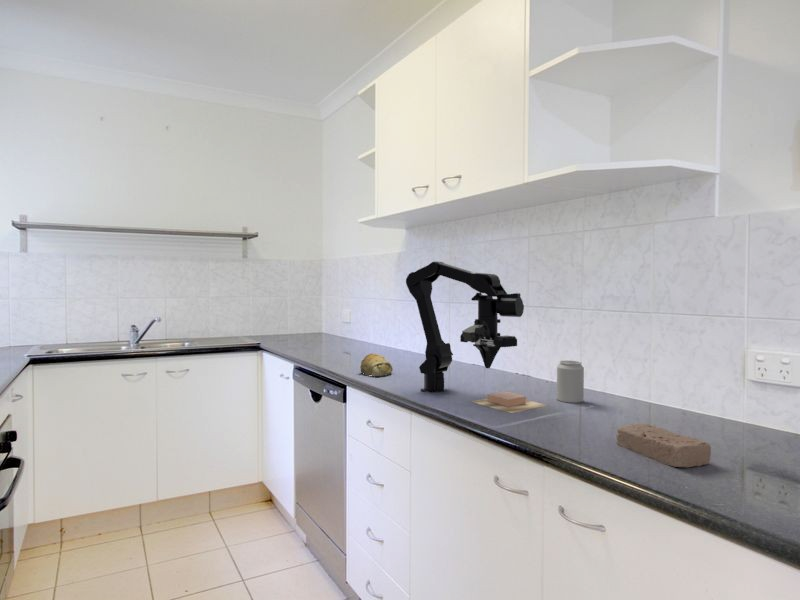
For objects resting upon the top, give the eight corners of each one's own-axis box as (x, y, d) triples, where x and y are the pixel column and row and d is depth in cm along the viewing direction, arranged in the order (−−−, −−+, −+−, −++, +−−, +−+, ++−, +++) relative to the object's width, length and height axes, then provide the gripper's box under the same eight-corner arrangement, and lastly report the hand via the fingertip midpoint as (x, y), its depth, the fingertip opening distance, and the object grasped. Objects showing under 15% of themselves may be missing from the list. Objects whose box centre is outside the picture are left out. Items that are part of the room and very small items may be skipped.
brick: (613, 445, 108) (614, 423, 108) (644, 441, 111) (644, 420, 111) (679, 472, 93) (679, 447, 92) (712, 467, 95) (713, 442, 95)
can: (585, 405, 142) (586, 363, 142) (558, 404, 144) (558, 362, 143) (581, 399, 150) (581, 359, 149) (555, 398, 151) (555, 359, 151)
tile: (488, 394, 144) (508, 399, 138) (505, 391, 148) (525, 396, 142) (487, 401, 144) (508, 407, 138) (505, 398, 148) (525, 403, 142)
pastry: (364, 370, 201) (364, 351, 201) (395, 371, 199) (395, 351, 199) (355, 377, 187) (355, 356, 187) (388, 378, 185) (388, 356, 185)
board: (470, 403, 145) (470, 401, 145) (506, 397, 153) (506, 395, 153) (511, 415, 132) (511, 413, 132) (549, 407, 140) (549, 405, 140)
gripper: (446, 315, 152) (446, 366, 153) (490, 318, 137) (490, 375, 137) (474, 314, 158) (474, 363, 159) (518, 317, 143) (518, 371, 143)
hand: (487, 368), depth 149 cm, fingers closed
